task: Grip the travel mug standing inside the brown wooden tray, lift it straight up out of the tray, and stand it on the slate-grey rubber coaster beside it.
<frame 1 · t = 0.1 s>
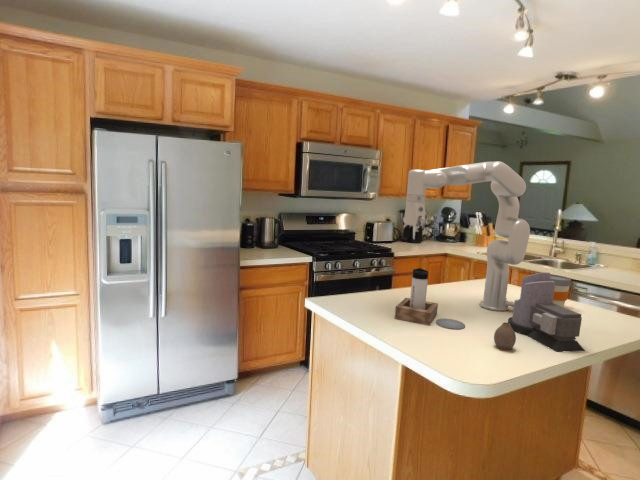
hand: (412, 239, 176), 31 cm above the worktop, tool pointing down, fingers open, 9 cm apart
travel mug: (416, 317, 172), resting in brown wooden tray
juicer: (539, 336, 157), on the worktop
reusable coffee cup: (551, 308, 197), on the worktop
rubber coaster: (450, 324, 164), on the worktop
vase: (503, 348, 143), on the worktop
brown wooden tray: (416, 316, 172), on the worktop
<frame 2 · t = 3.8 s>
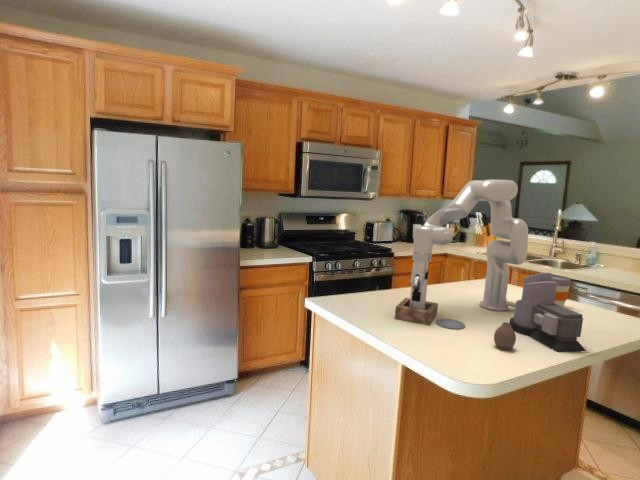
hand: (417, 298, 170), 8 cm above the worktop, tool pointing down, fingers closed on travel mug, 6 cm apart
travel mug: (416, 316, 172), resting in brown wooden tray, touching gripper
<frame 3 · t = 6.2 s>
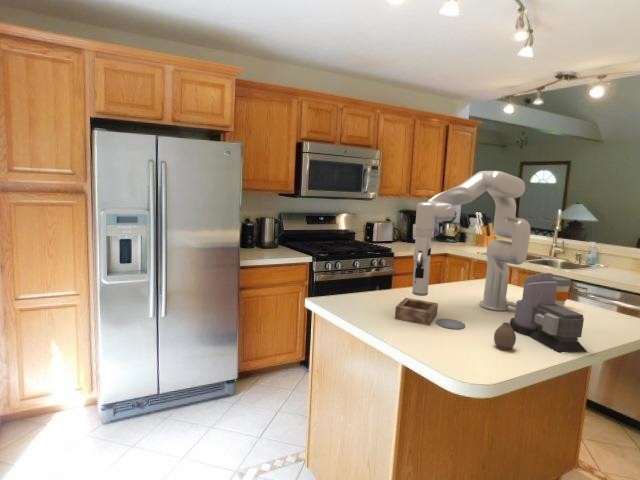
hand: (421, 275, 169), 17 cm above the worktop, tool pointing down, fingers closed on travel mug, 6 cm apart
travel mug: (419, 294, 171), point 9 cm above the worktop, touching gripper
everything else where it was.
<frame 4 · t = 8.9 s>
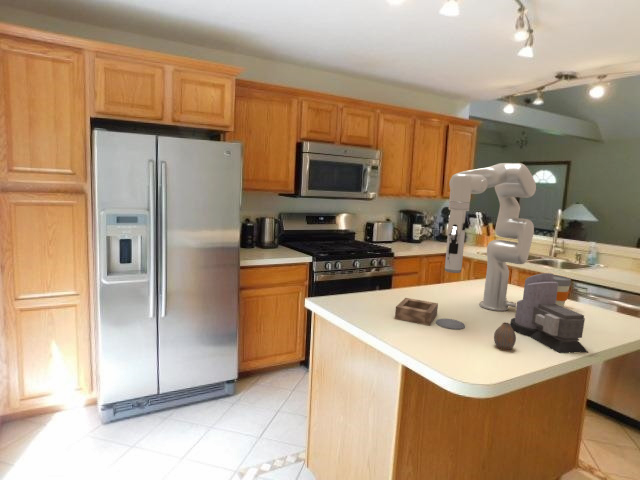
hand: (454, 252, 161), 29 cm above the worktop, tool pointing down, fingers closed on travel mug, 6 cm apart
travel mug: (452, 271, 162), point 21 cm above the worktop, touching gripper
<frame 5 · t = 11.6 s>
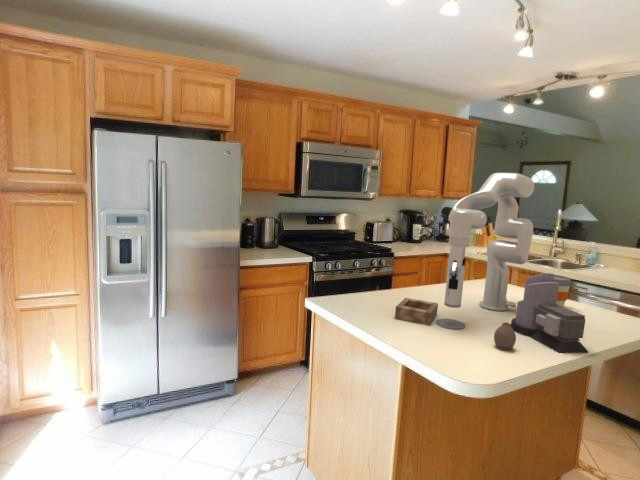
hand: (454, 286, 162), 16 cm above the worktop, tool pointing down, fingers closed on travel mug, 6 cm apart
travel mug: (452, 306, 163), point 8 cm above the worktop, touching gripper
when the fingers open (9 cm above the worktop, at t = 13.8 s): travel mug drops 1 cm, resting on rubber coaster.
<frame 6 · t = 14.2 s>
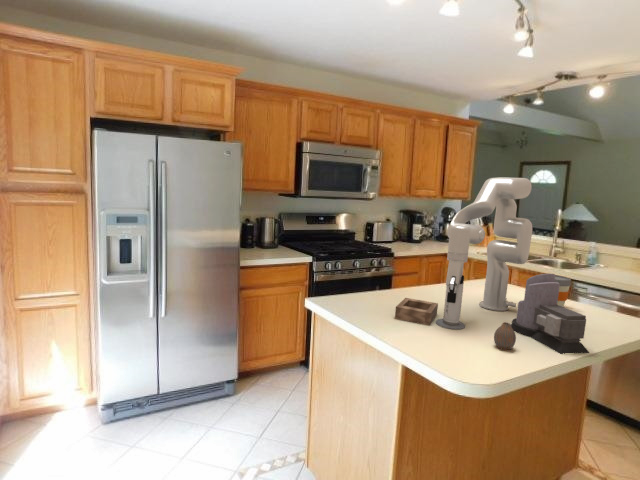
hand: (452, 299, 162), 10 cm above the worktop, tool pointing down, fingers open, 9 cm apart
travel mug: (450, 323, 164), resting on rubber coaster
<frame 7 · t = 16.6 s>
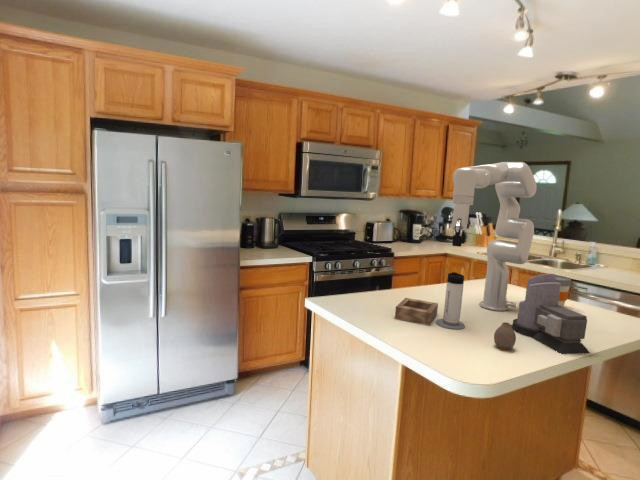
hand: (458, 244, 160), 32 cm above the worktop, tool pointing down, fingers open, 9 cm apart
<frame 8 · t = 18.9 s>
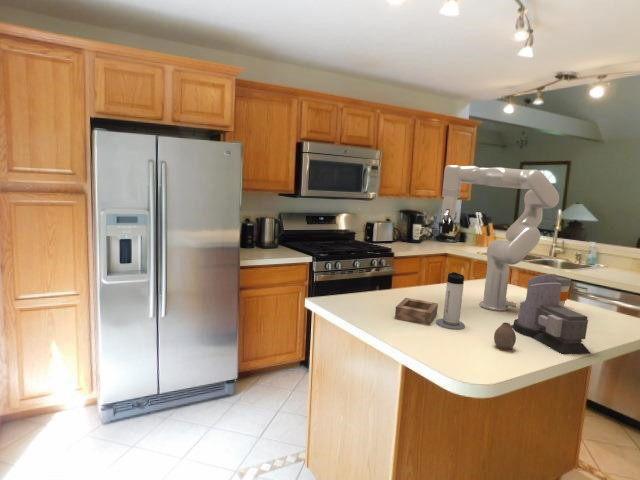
hand: (447, 232, 183), 34 cm above the worktop, tool pointing down, fingers open, 9 cm apart
at the end: travel mug 0.4 cm off-centre on the rubber coaster, point 0.4 cm above the rubber coaster's base; travel mug tilted 0°; the gripper is holding nothing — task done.
